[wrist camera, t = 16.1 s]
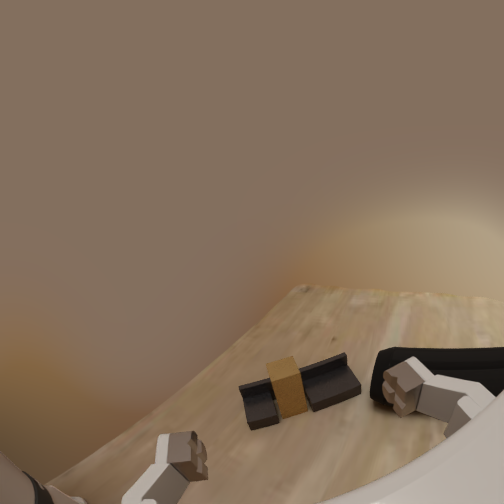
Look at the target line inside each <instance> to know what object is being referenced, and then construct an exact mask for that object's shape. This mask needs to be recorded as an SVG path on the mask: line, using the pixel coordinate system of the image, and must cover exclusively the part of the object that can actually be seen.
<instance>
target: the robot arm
mask: <svg viewBox="0 0 504 504" xmlns="http://www.w3.org/2000/svg"><path fill="white" fill-rule="evenodd" d="M383 378H384V379H385V381H384V383H383V384H382V390H383V394H384V396H385V398H386V400H387V401H388V402H389V403H392V404H394V406H393V409H394V411H395V412H396V413H397V415H398V416H399V417H400V418H402V417H404V416H406V415H408V414H409V413H411V412H413V411H415V410H416V411H419V412H421V413H424V414H426V415H429V416H431V417H434V418H436V419H439V420H442V421H445V422H447V423H448V425H447V427H446V429H445V431H444V435H445V437H446V438H447V439H445V440H444V441H442V442H441V443H439V444H438V445H436V446H435V447H433V448H432V449H430V450H429V451H427V452H426V453H424V454H423V455H421V456H419V457H418V458H416V459H414V460H413V461H411V462H409V463H408V464H406V465H404V466H402V467H400V468H399V469H397V470H395V471H393V472H391V473H389V474H387V475H385V476H383V477H381V478H379V479H377V480H375V481H373V482H371V483H368V484H366V485H364V486H362V487H359V488H357V489H354V490H352V491H350V492H347V493H344V494H342V495H339V496H336V497H334V498H331V499H328V500H325V501H322V502H319V503H316V504H504V390H503V391H502V392H501V393H500V394H499V395H498V396H497V397H495V396H494V395H493V394H492V393H490V392H489V391H488V390H487V389H486V388H485V387H484V386H483V385H482V384H481V383H479V382H473V381H467V380H462V379H457V378H452V377H447V376H442V375H438V374H437V375H435V376H434V375H433V374H432V373H431V372H430V371H429V370H428V369H427V368H426V367H425V366H424V365H423V364H422V363H421V362H420V361H419V360H418V359H417V358H416V357H411V358H409V359H407V360H405V361H404V362H401V363H399V364H397V365H396V366H394V367H392V368H390V369H388V370H386V371H384V373H383ZM206 460H207V452H206V448H205V446H204V444H203V442H202V441H201V440H198V439H197V434H196V433H195V431H189V432H179V433H169V434H160V435H159V437H158V441H157V449H156V457H155V464H152V465H151V466H150V467H149V468H148V469H147V470H146V471H145V473H144V474H143V475H142V476H141V477H140V478H139V479H138V480H137V481H136V483H135V484H134V485H133V486H132V487H131V488H130V489H129V490H128V491H127V492H126V494H125V495H124V496H123V497H122V504H177V503H178V502H179V500H180V498H181V497H182V495H183V493H184V492H185V490H186V488H187V487H188V485H189V483H190V482H193V481H202V480H208V467H207V466H206V465H205V464H204V463H205V462H206ZM0 504H87V502H86V501H85V500H84V499H83V498H81V497H69V496H68V495H66V494H64V493H63V492H61V491H60V490H58V489H57V488H55V487H54V486H51V485H50V486H47V485H41V484H40V483H39V482H38V481H37V480H36V479H35V478H33V477H32V476H30V475H28V474H27V473H26V472H24V471H21V470H20V469H19V468H18V467H16V466H15V465H14V464H13V463H12V462H11V461H10V460H9V459H8V458H7V457H6V456H5V455H4V454H3V453H2V452H1V451H0Z"/></svg>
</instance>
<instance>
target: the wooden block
mask: <svg viewBox="0 0 504 504" xmlns="http://www.w3.org/2000/svg"><path fill="white" fill-rule="evenodd" d="M266 367H267V370H268V373H269V377H270V380H271V383H272V386H273V390H274V393H275V396H276V400H277V403H278V406H279V409H280V412H281V415H282V418H283V419H285V418H288V417H291V416H294V415H298V414H301V413H304V412H307V411H308V409H307V404H306V399H305V394H304V389H303V384H302V379H301V374H300V371H299V369H298V367H297V365H296V363H295V360H294V358H293V356H290V357H287V358H284V359H281V360H278V361H274V362H271V363H267V364H266Z"/></svg>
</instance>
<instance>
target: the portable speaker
mask: <svg viewBox="0 0 504 504" xmlns="http://www.w3.org/2000/svg"><path fill="white" fill-rule="evenodd" d="M411 357H416V358H417V359H418V360H419V361H420V362H421V363H422V364H423V365H424V366H425V367H426V368H427V369H428V370H429V371H430V372H431V373H432V374H433V375H434V376H435V375H437V374H438V375H442V376H447V377H452V378H457V379H462V380H467V381H473V382H479V383H481V384H482V385H483V386H484V387H485V388H486V389H487V390H488V391H489V392H490V393H492V394H493V395H494V396H495V397H497V396H498V395H499V394H500V393H501V392H502V391H503V390H504V347H494V348H462V349H438V348H404V347H392V348H388V349H385V350H381V351H379V353H378V355H377V358H376V362H375V365H374V370H373V374H372V380H371V386H370V398H371V399H373V400H375V401H377V402H379V403H381V404H383V405H388V406H394V404H392V403H389V402H388V401H387V400H386V398H385V396H384V394H383V390H382V384H383V383H384V381H385V379H384V378H383V373H384V371H386V370H388V369H390V368H392V367H394V366H396V365H397V364H399V363H401V362H404V361H405V360H407V359H409V358H411Z"/></svg>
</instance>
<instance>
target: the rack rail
mask: <svg viewBox="0 0 504 504" xmlns="http://www.w3.org/2000/svg"><path fill="white" fill-rule="evenodd" d="M299 371H300V374H301V379H302V384H303V389H304V392H305V395H306V397H307V399H308V401H309V404H310V406H311V408H312V410H313V412H316V411H318V410H321V409H324V408H327V407H329V406H332V405H335V404H337V403H340V402H342V401H345V400H347V399H349V398H352V397H354V396H357V395H359V394H361V384H360V382H359V381H358V379H357V378H356V377H355V375H354V374H353V372H352V371H351V369H350V368H349V367H348V365H347V355H346V354H345V352H344V353H342V354H339V355H336V356H334V357H331V358H328V359H326V360H323V361H320V362H317V363H315V364H312V365H309V366H306V367H303V368H300V369H299ZM239 390H240V393H241V395H242V397H243V401H244V407H245V413H246V418H247V423H248V425H249V427H250V429H251V430H255V429H259V428H263V427H267V426H270V425H274V424H278V423H279V419H278V416H277V413H276V410H275V406H274V403H273V400H274V399H276V396H275V393H274V390H273V386H272V383H271V380H270V378H267V379H264V380H260V381H257V382H253V383H249V384H245V385H241V386H239Z"/></svg>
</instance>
